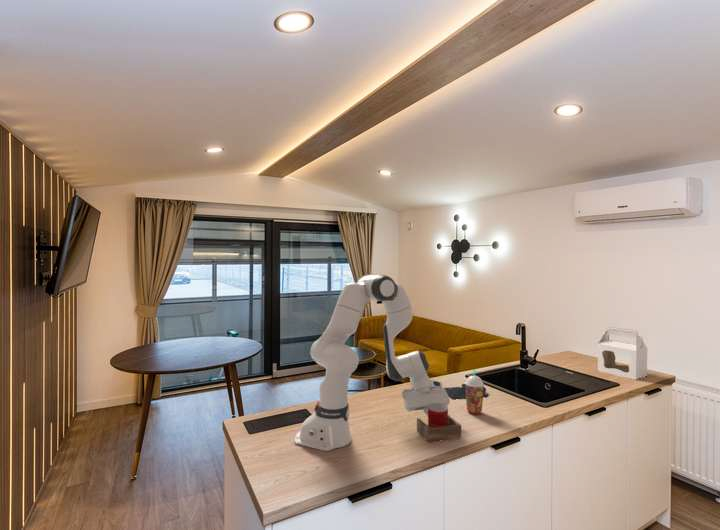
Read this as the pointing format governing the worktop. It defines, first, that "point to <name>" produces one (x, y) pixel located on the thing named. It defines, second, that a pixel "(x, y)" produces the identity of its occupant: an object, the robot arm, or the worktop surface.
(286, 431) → the worktop surface
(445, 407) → the canned food
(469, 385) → the smoothie
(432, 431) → the holder
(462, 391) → the dark slate chunk
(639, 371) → the gable box
